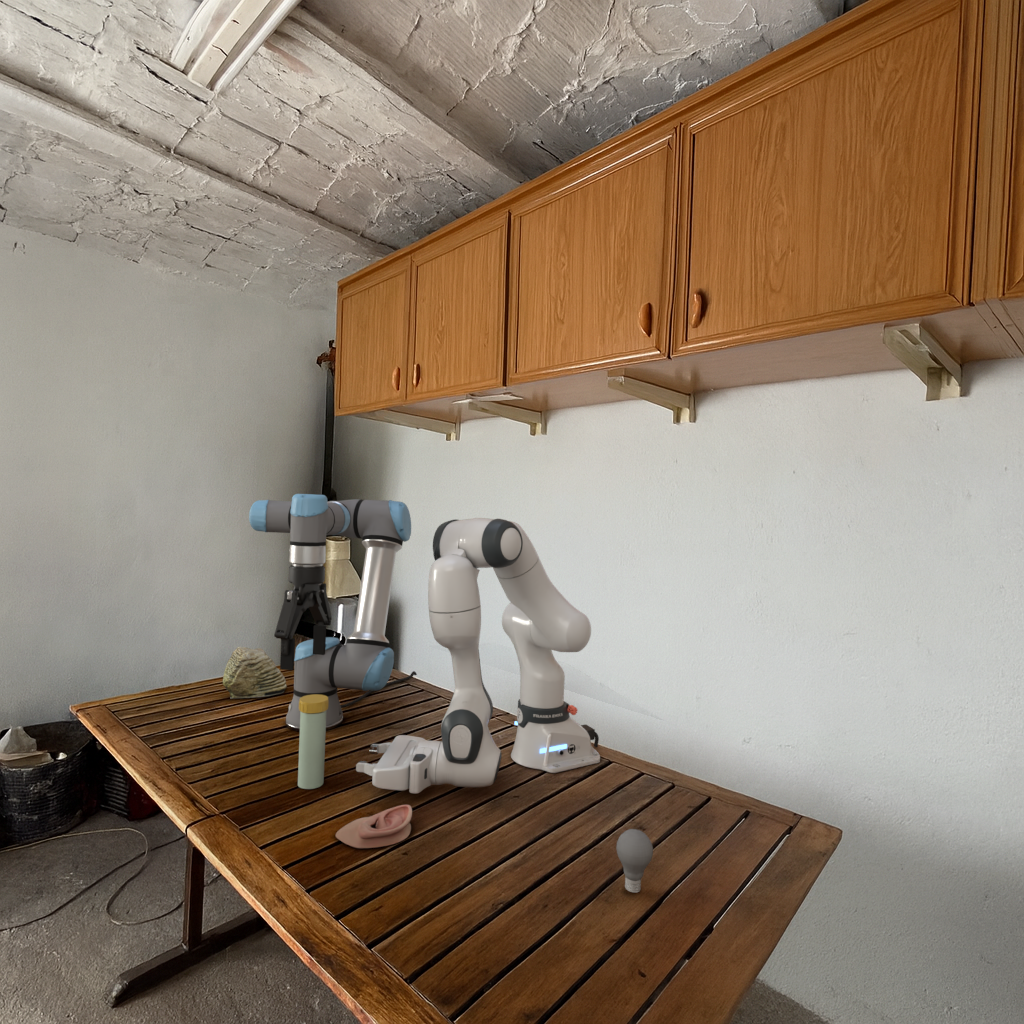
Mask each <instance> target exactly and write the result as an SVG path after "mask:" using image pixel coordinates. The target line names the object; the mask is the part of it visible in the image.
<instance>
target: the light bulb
mask: <svg viewBox="0 0 1024 1024" xmlns="http://www.w3.org/2000/svg"><path fill="white" fill-rule="evenodd" d="M615 849H616V854H617V857H618V859H619V861H620V863H621V865H622V867H623V873H624V874H623V875H624V876H625V878H624V888H625V890H627V891H628V892H630V893H634V894H635V893H639V892H640V891H641V889H642V887H641V886H642V879H643V877H644V875H645V871H646V868H647V867H648V866H649V864H650V863H651V861H652V859H653V855H654V847H653V843H652V841H651V838H649V836H648V835H647V834H646V833H645V832H643V831H642V830H641V829H636V828H629V829H627V830H625V831H623V832H622V833H621V834H620V835H619V837H618V839H617V841H616V847H615Z"/></svg>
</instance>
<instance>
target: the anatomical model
mask: <svg viewBox="0 0 1024 1024" xmlns="http://www.w3.org/2000/svg"><path fill="white" fill-rule="evenodd" d="M412 817H413V808H412V806H411V805H410V804H401V805H396V806H393V807H390V808H388V809H385V810H382V811H380V812H378V813H375V814H373V815H370V816H364V817H361V818H357V819H355V820H352V821H350V822H349V823H346V824H345V825H344V826H342V827H341V828H340V829H338V830H337V832H335V838H336V839H337V840H338V841H341V842H342V843H344V844H345V845H348V846H349V847H352V848H355V849H372V848H373V849H374V848H381V847H388V846H391V845H395V844H397V843H400V842H402V841H404V840H405V839H408V837H409V836H410V834H411V831H412V824H411V821H412Z"/></svg>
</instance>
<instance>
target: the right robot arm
mask: <svg viewBox="0 0 1024 1024" xmlns="http://www.w3.org/2000/svg"><path fill="white" fill-rule="evenodd" d="M433 534H434V535H433V538H432V554H433V558H434V561H433V562H432V564H431V565H430V568H429V573H428V583H427V584H428V585H427V586H428V587H427V599H428V600H427V604H428V605H427V606H428V615H429V623H430V627H431V632H432V635H433V638H434V640H435V641H436V643H437V644H439V645H440V646H441V647H444V648H446V649H447V650H448V651H449V653H450V656H451V662H452V663H451V664H452V671H453V672H452V673H453V680H454V690H453V693H452V697H451V699H450V702H449V705H448V708H447V710H446V711H445V713H444V717H443V718H442V721H441V724H440V734H441V741H440V740H426V738H424V737H420V736H416V735H415V736H414V735H408V734H407V735H406V734H400V735H396V736H395V737H394V739H393V740H392V741H391V742H390V741H389V742H383V743H372V744H371V745H370V747H369V754H370V755H378V754H382V756H381V757H380V759H379V760H378V762H377V763H374V762H373V763H372V764H371V763H368V762H367V761H366V760H363V761H362V760H359V761H357V763H356V764H355V771H356V772H357V773H363V774H366V775H368V776H369V777H372V778H371V780H372V781H371V783H372V786H373V787H375V788H377V789H382V790H390V791H407V790H408V792H409V793H410V794H419V793H421V792H422V791H423V790H425V789H426V788H429V787H431V786H442V785H452V786H453V787H454V786H455V787H457V788H458V787H459V788H486V787H491V786H492V785H493V784H494V783H496V781H497V779H498V775H499V771H500V767H501V766H500V765H501V762H502V750H501V749H500V748H499V747H498V745H497V744H496V742H495V741H494V738H493V737H492V733H491V732H490V731H491V730H490V728H489V723H490V721H491V720H492V717H493V713H494V705H493V701H492V698H491V695H490V694H489V692H488V691H487V689H486V687H485V684H484V682H483V681H484V680H483V676H482V668H481V659H480V658H481V657H480V649H479V648H480V638H481V631H482V630H481V629H482V606H481V605H482V603H481V595H480V589H479V583H478V576H479V574H480V569H488V568H490V569H491V568H492V569H493V571H494V573H495V576H496V578H497V580H498V582H499V584H500V586H501V588H502V591H503V592H504V594H505V596H506V598H507V600H508V601H509V603H508V604H507V605H506V607H504V609H503V612H502V615H501V625H502V626H501V627H502V629H503V632H504V633H505V634H506V635H507V637H508V638H509V640H510V641H511V643H512V645H513V648H514V650H515V653H516V657H517V661H518V666H519V675H520V676H519V678H520V679H519V682H520V683H519V685H520V686H519V699H518V700H517V708H516V709H517V710H516V720H515V721H514V726H516V727H517V728H516V734H515V739H514V743H513V746H512V750H511V753H510V758H511V759H512V761H513V762H514V763H516V764H517V765H519V766H523V767H526V768H530V769H535V770H541V771H544V772H547V773H551V774H556V773H561V772H565V771H570V770H574V769H577V768H582V767H586V766H591V765H596V764H599V763H600V762H601V755H600V753H599V752H598V750H597V749H596V748H598V746H599V740H600V739H599V735H598V733H597V731H596V729H595V728H593V727H592V726H590V725H588V724H580V723H579V722H577V721H576V720H575V719H574V718H573V717H571V716H576V715H577V713H578V711H579V710H578V708H577V707H576V706H575V705H573V704H570V703H568V702H567V701H565V684H566V683H565V680H566V678H565V677H566V674H565V671H564V669H563V667H562V666H561V665H560V663H559V662H558V661H557V659H556V657H555V655H554V653H553V651H555V652H558V653H578V652H581V651H583V650H584V649H585V647H587V646H588V644H589V642H590V639H591V636H592V624H591V622H590V619H589V617H588V616H587V614H585V613H583V612H582V611H580V610H579V609H578V608H576V607H575V606H574V605H573V604H571V603H570V601H568V599H566V597H565V596H564V595H563V594H562V593H561V591H559V589H558V588H557V587H556V586H555V585H554V583H553V582H552V581H551V579H550V577H549V575H548V573H547V571H546V569H545V567H544V564H543V563H542V560H541V559H540V556H539V554H538V551H537V550H536V548H535V545H534V544H533V542H532V540H531V539H530V537H529V536H528V534H527V533H526V531H525V530H524V528H522V526H521V525H520V524H518V523H517V522H516V521H511V520H507V519H504V518H486V517H473V518H464V519H451V520H447V521H444V522H442V523H440V524H439V526H437V528H436V530H435V532H434V533H433ZM570 715H571V716H570ZM592 741H594V743H593V746H592Z"/></svg>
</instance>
